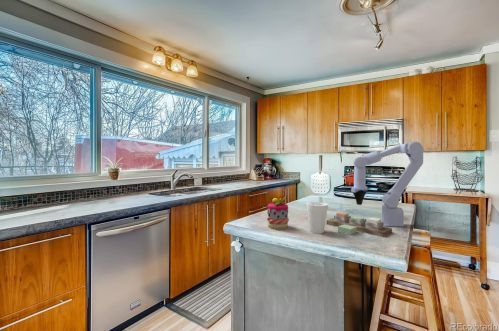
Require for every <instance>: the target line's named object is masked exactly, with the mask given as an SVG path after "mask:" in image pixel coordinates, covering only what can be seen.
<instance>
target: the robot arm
mask: <svg viewBox="0 0 499 331" xmlns="http://www.w3.org/2000/svg"><path fill="white" fill-rule="evenodd" d="M398 153H399V154H403V153H404V154H405V155H406V156H407V157H408V160H409V163H408V165H407V166H406V167H405V169H404V171H403V172H402V173H401V175H400V177H399V178H398V179H397V181H396V182H395V183H394V185H393V186H392V187H391V188H390V189H389V190H388V191H387V192H386V193H384V194H383V195H382V197H381V201H382V203H383V204H382V206H381V222H384V227H405V225H404V219H405V217H404V216H405V214H404V209H403V208H402V207H399V203H400V202H399V201H400V199H401V197H402V195H403V192H404V191H405V189H406V188H407V187H408V185H409V184H410V182H411V181H412V180H413V178H414V177H415V176H416V174H418V173H417V172H418V171H419V170H420V169H421V167H422V165H423V164H424V153H425V149H424V147H423V145H422V144H421V142H419V141H411V142H407V143H406V142H405V143H402V144H397V145H394V146H393V147H390V148H387V149H384V150H382V151H377V150H371V151H370V152H369V153H366V154H362V155H361V156H358V157H356V158H355V159H354V161H353V165H354V168H353V169H354V170H353V186H352V187H351V188H350V192H351V193H352V194H353V196H354V198H355V203H356V205H359V206H362V204H363V203H364V202H363V201H364V198H365V196H366V195H367V191H368V186H366V178H367V177H366V173H367V172H366V167H367V166H371V165H373V164H376V163H378V162H381V160H382V159H383V158H385V157H388V156H391V155H395V154H398Z"/></svg>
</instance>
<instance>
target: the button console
mask: <svg viewBox="0 0 499 331" xmlns="http://www.w3.org/2000/svg"><path fill="white" fill-rule="evenodd" d="M351 218H352V216H351V215H349V217H345V218H343V217H338V216H336V215H333V218H329V219H326V225H329V226H333V227H337V228H338V226H341V225H344V224H346V225H350V226H355V227H357V232H359V233H365V234H369V235H373V236H377V237H382V238H384V237H386V236H389V235H390V234H392V233H393V228H392V227H389V226H384V222H381V223H379V224H374V223H369V222H367V219H366V218H364V220H361V221H359V220H353V219H351Z"/></svg>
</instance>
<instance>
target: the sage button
mask: <svg viewBox="0 0 499 331" xmlns="http://www.w3.org/2000/svg"><path fill="white" fill-rule="evenodd" d="M351 219H353V220H359V221H361V220H364V219H365V217H362V216H355V215H354V216H351Z"/></svg>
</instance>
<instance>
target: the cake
mask: <svg viewBox="0 0 499 331" xmlns="http://www.w3.org/2000/svg"><path fill="white" fill-rule="evenodd" d="M286 199H287V198H286V197H285V196H284V197H283V198H277V197H274V198H272V201H271V203H268V205H267V216H268V217H267V218H266V220H267V221H268V222H267V227H268V228H269V229H273V230H285V229H288V228H289V227H288V225H289V223H288V222H289V221H290V219H289V216H288V213H289V205H288V204H286V203H284V202H285V200H286Z"/></svg>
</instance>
